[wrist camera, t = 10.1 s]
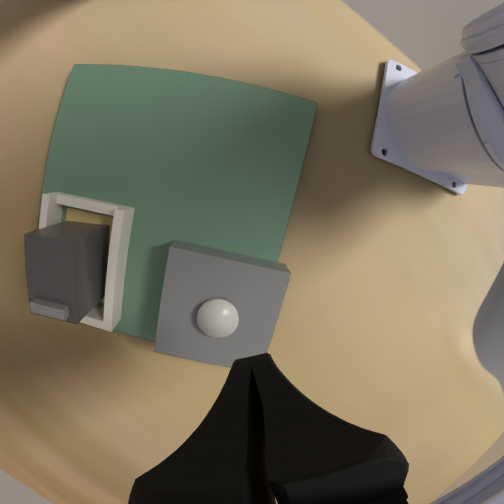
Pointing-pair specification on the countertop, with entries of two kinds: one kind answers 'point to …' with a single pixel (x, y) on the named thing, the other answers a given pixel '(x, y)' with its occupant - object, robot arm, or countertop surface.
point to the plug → (66, 269)
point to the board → (171, 174)
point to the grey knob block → (218, 304)
